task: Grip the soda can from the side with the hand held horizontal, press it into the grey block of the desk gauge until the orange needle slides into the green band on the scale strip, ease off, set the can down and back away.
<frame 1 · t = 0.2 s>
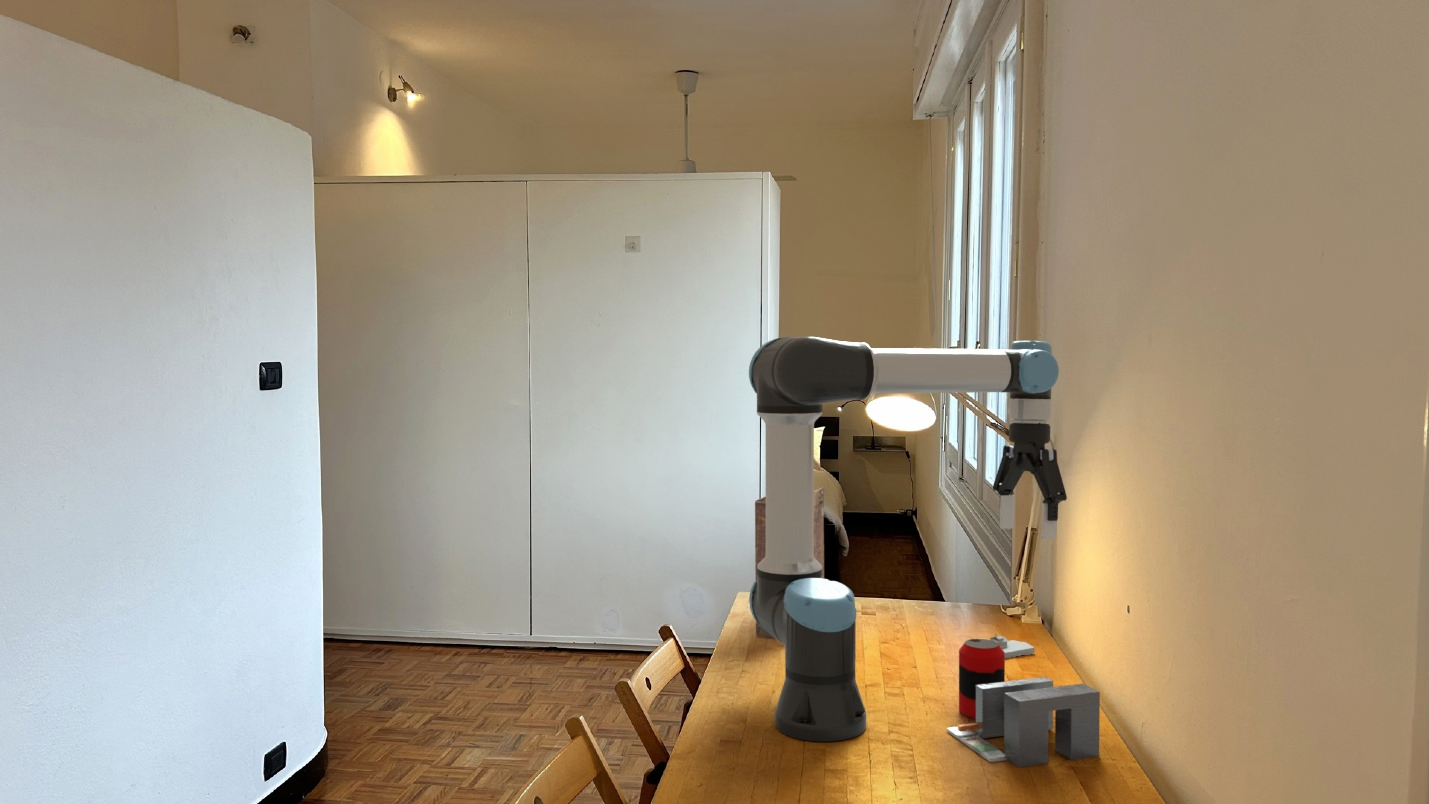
hand: (1027, 533, 193), 27 cm above the table, fingers open, 13 cm apart
book: (791, 625, 231), on the table
soda can: (981, 713, 173), on the table
grey block: (1013, 713, 161), point 4 cm above the table, slide at 0.0 cm
gauge bed: (1032, 744, 159), on the table
grey flat angular piece: (1000, 654, 209), on the table
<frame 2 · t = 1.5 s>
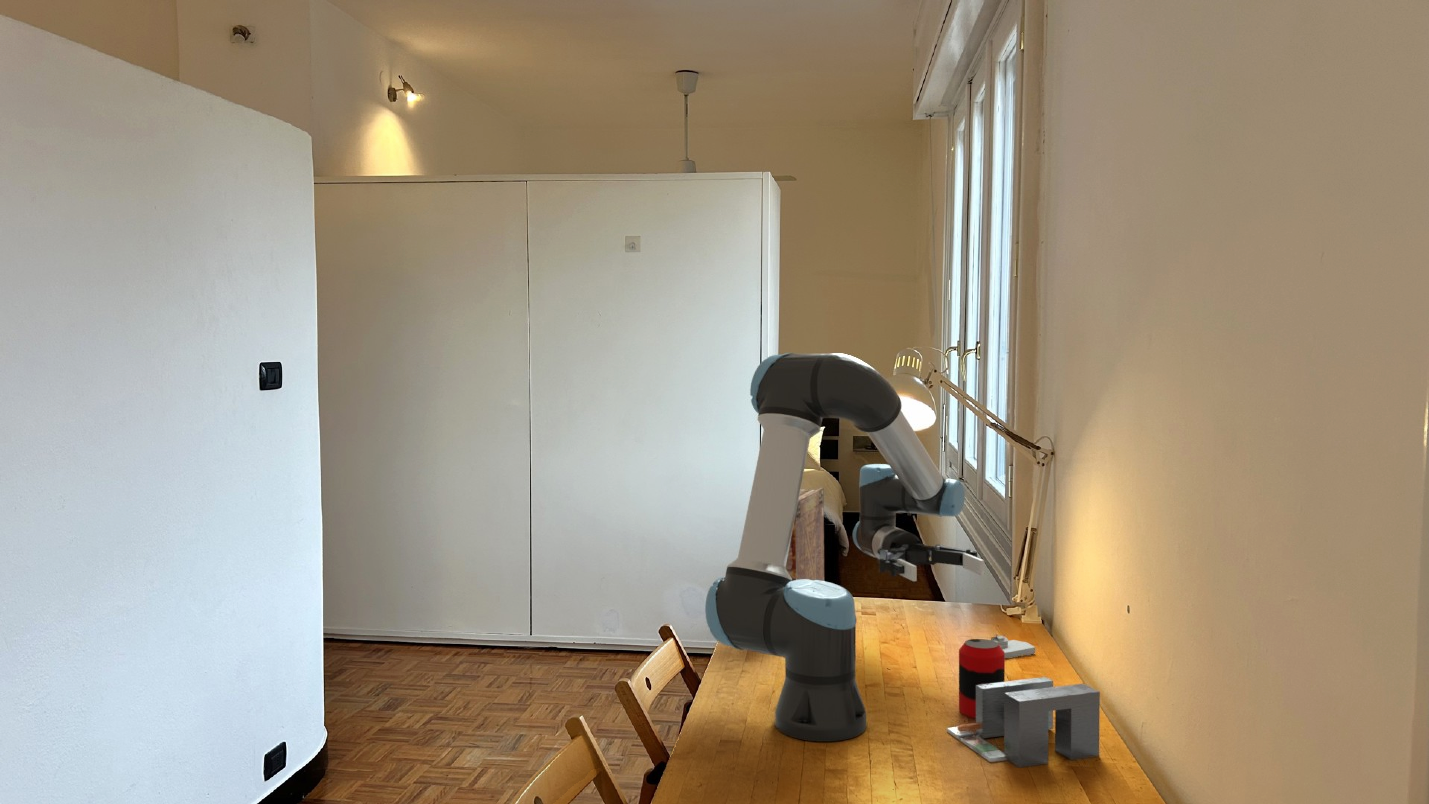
hand: (949, 570, 183), 22 cm above the table, fingers open, 13 cm apart
nothing on the table moved.
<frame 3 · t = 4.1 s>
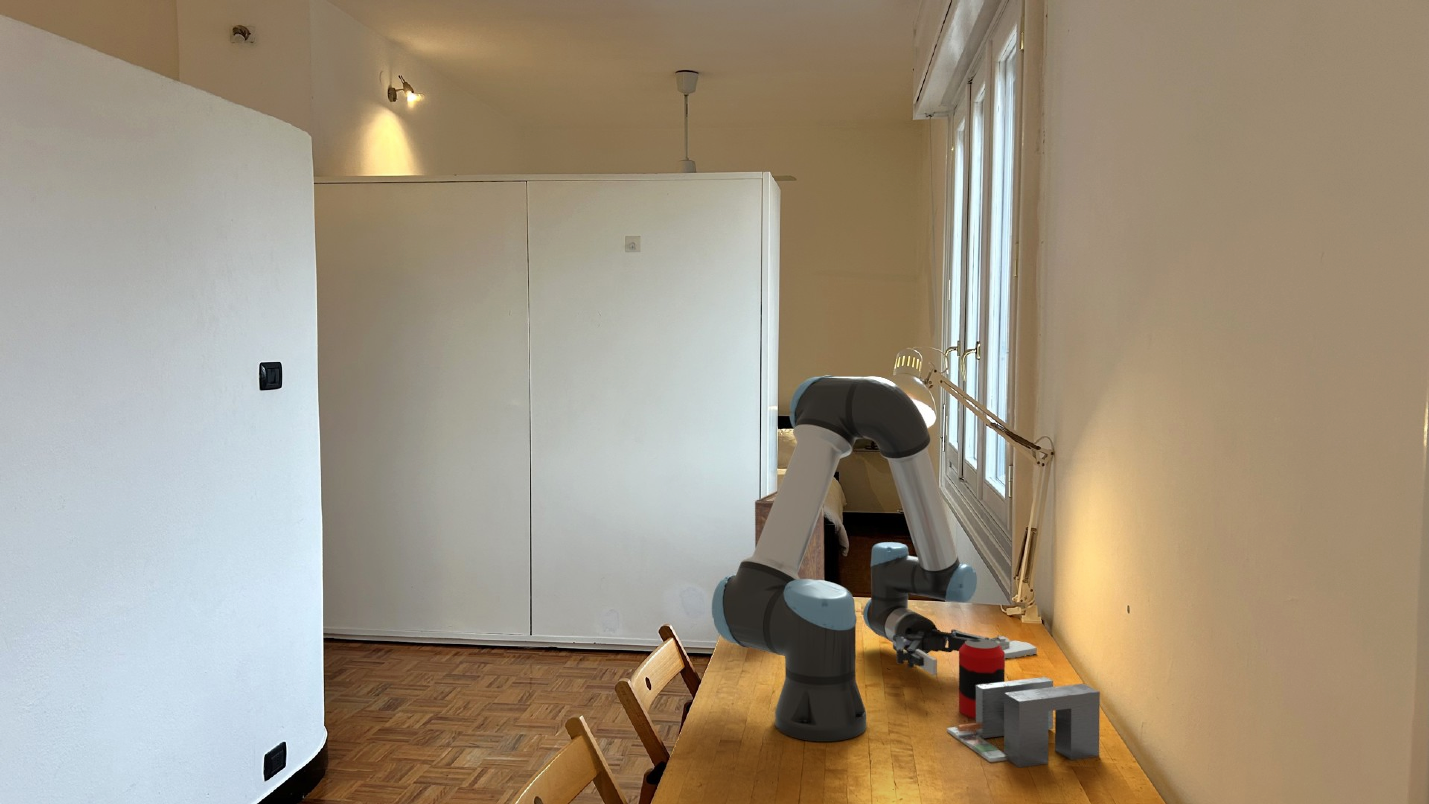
hand: (969, 663, 178), 7 cm above the table, fingers open, 13 cm apart
nothing on the table moved.
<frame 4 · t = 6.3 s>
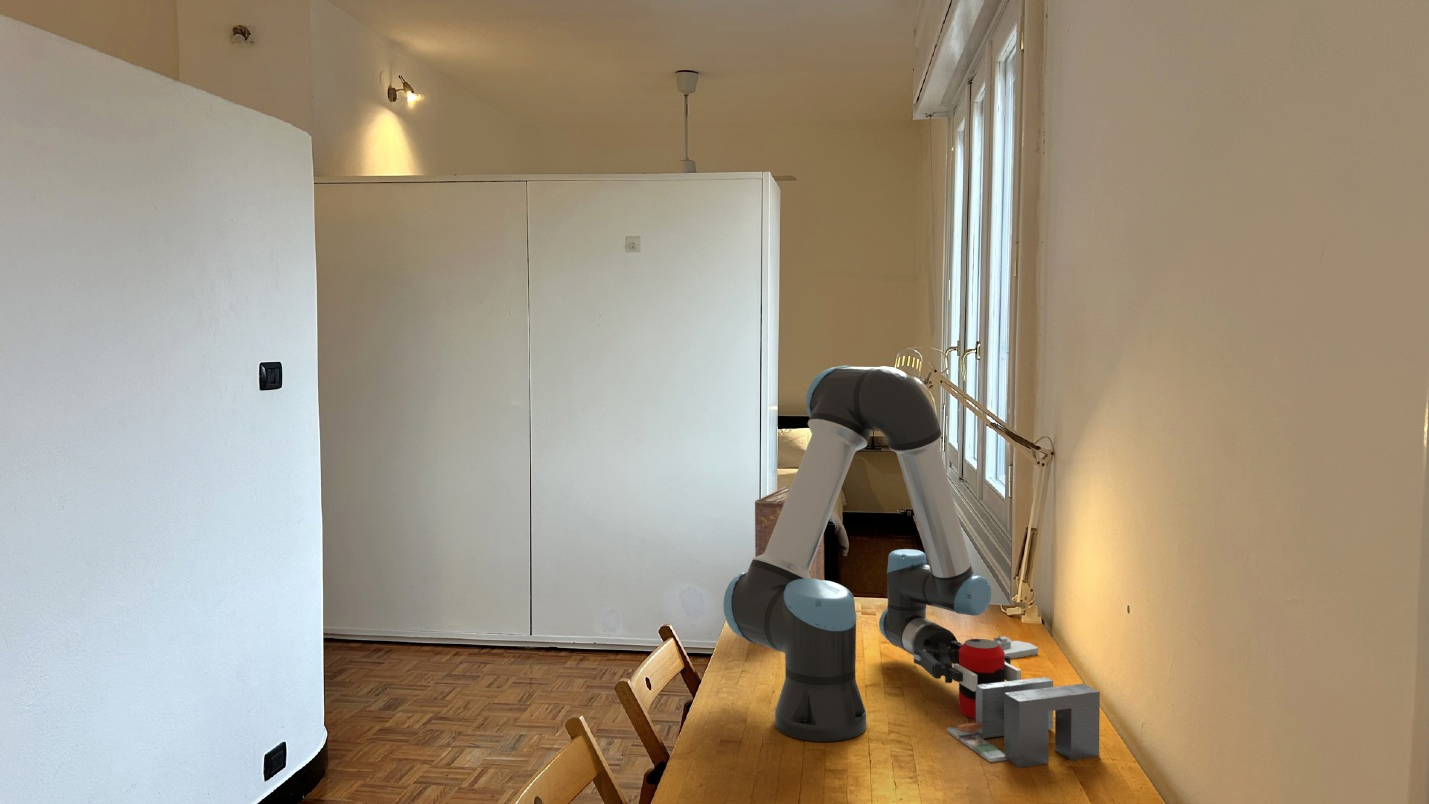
hand: (997, 680, 168), 7 cm above the table, fingers closed on soda can, 7 cm apart
soda can: (981, 713, 173), on the table, touching gripper
everything else where it was.
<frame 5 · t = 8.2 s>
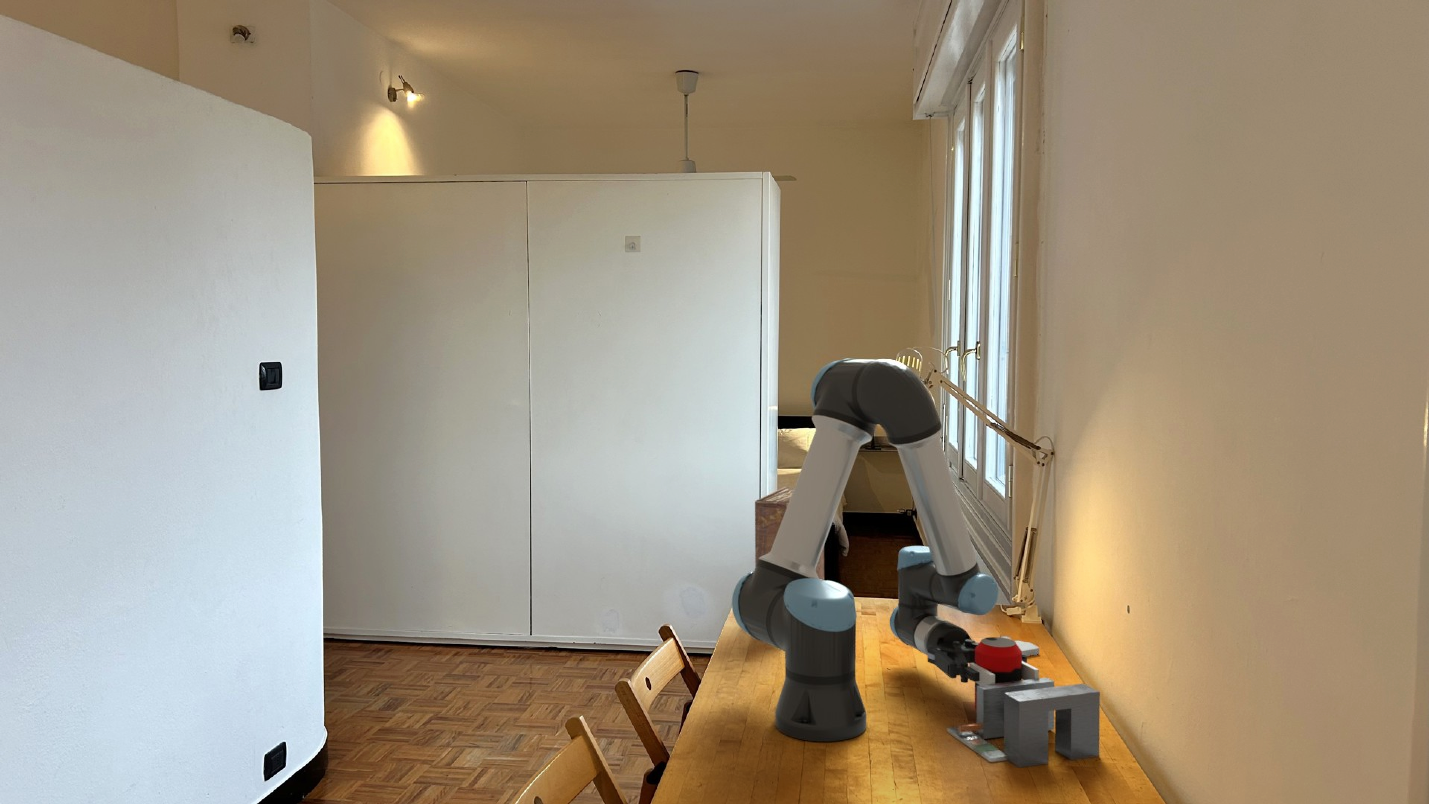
hand: (1014, 680, 165), 8 cm above the table, fingers closed on soda can, 7 cm apart
soda can: (998, 713, 170), point 1 cm above the table, touching gripper
grey block: (1014, 714, 160), point 4 cm above the table, slide at 0.3 cm, touching gripper
everything else where it was.
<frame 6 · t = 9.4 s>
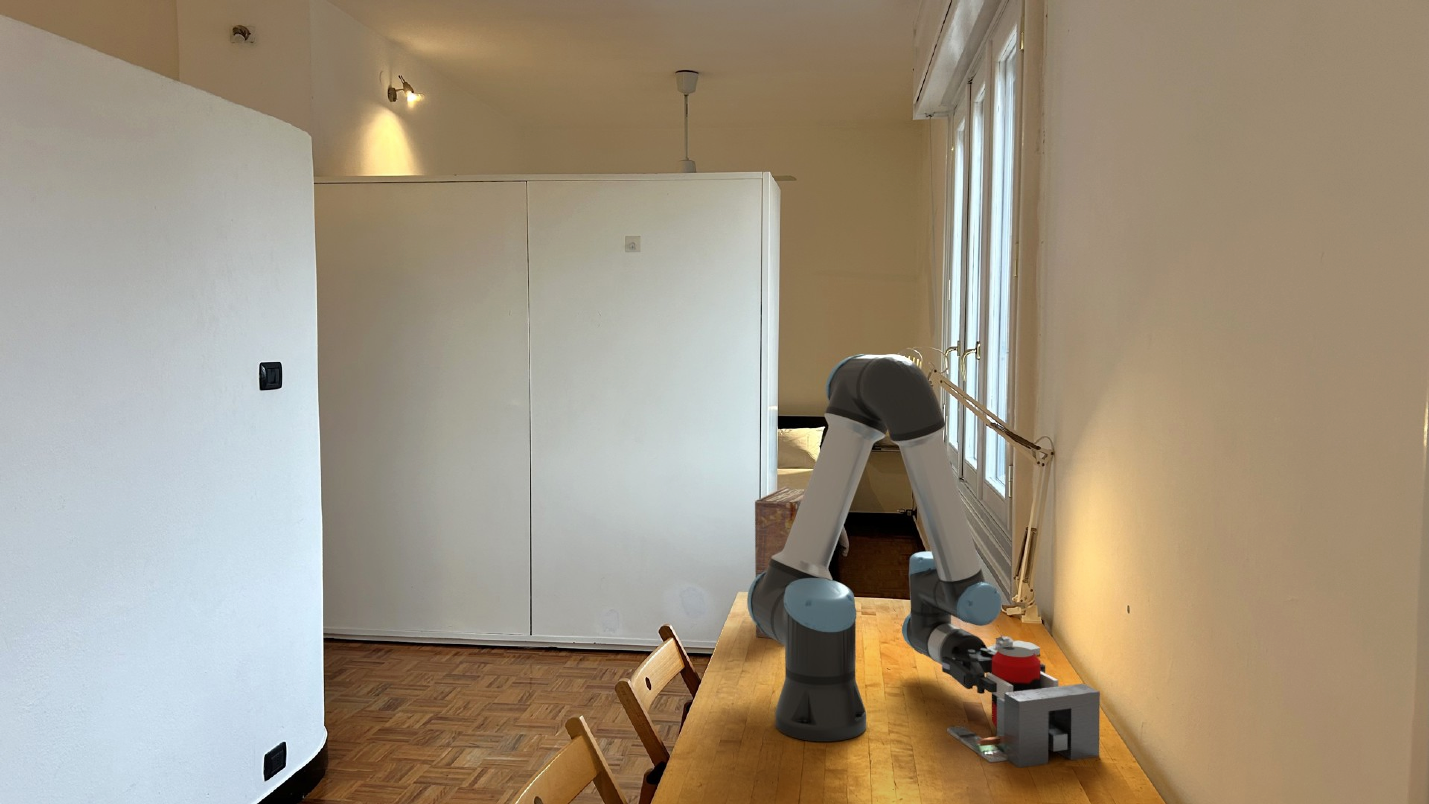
hand: (1033, 691, 159), 8 cm above the table, fingers closed on soda can, 7 cm apart
soda can: (1015, 725, 164), point 1 cm above the table, touching gripper
grey block: (1036, 727, 155), point 4 cm above the table, slide at 6.2 cm, touching gripper
when the fingers open (7 cm above the table, at t = 11.5 s): soda can stays where it is, on the table.
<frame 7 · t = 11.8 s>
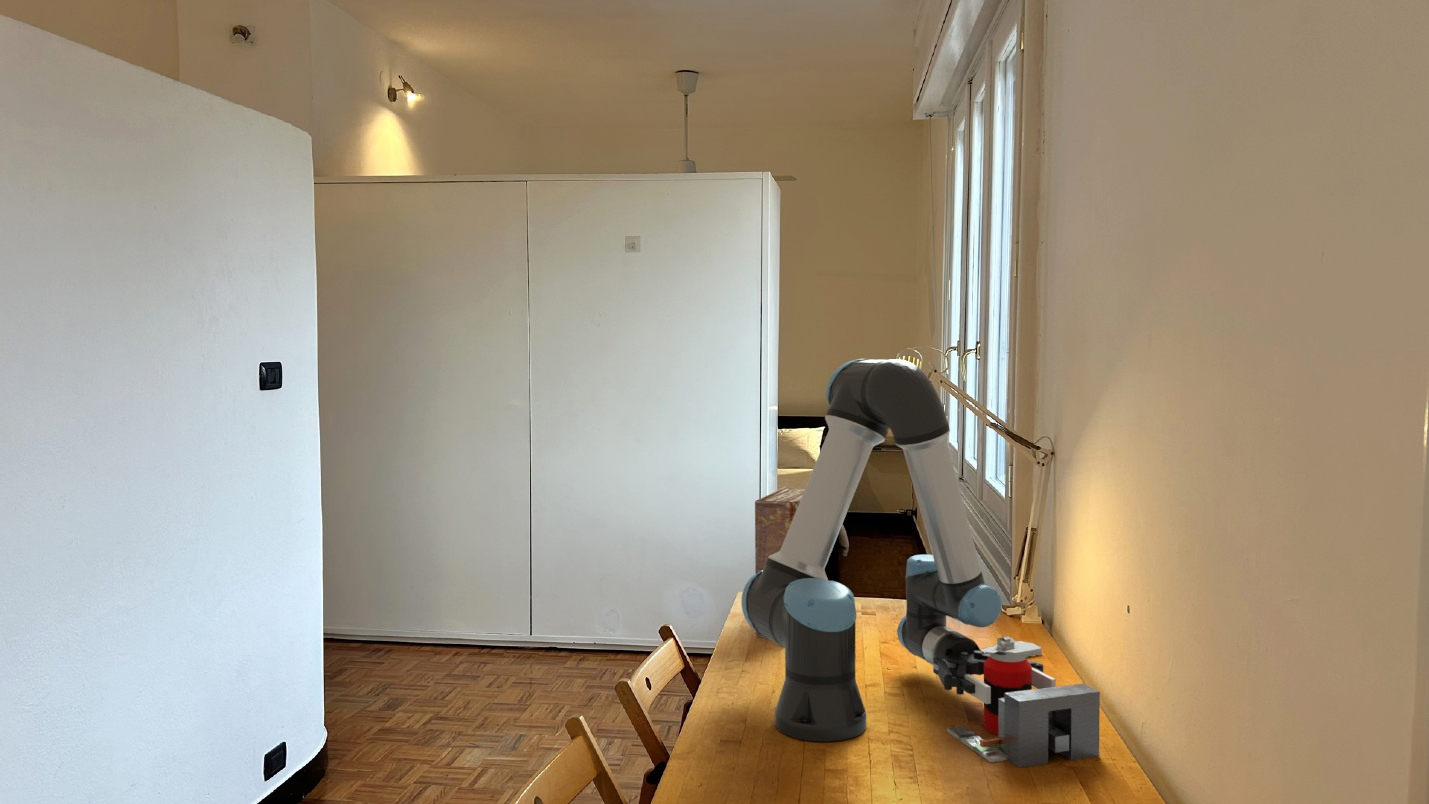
hand: (1021, 691, 162), 7 cm above the table, fingers open, 11 cm apart
soda can: (1007, 730, 166), on the table
grey block: (1038, 728, 154), point 4 cm above the table, slide at 6.6 cm
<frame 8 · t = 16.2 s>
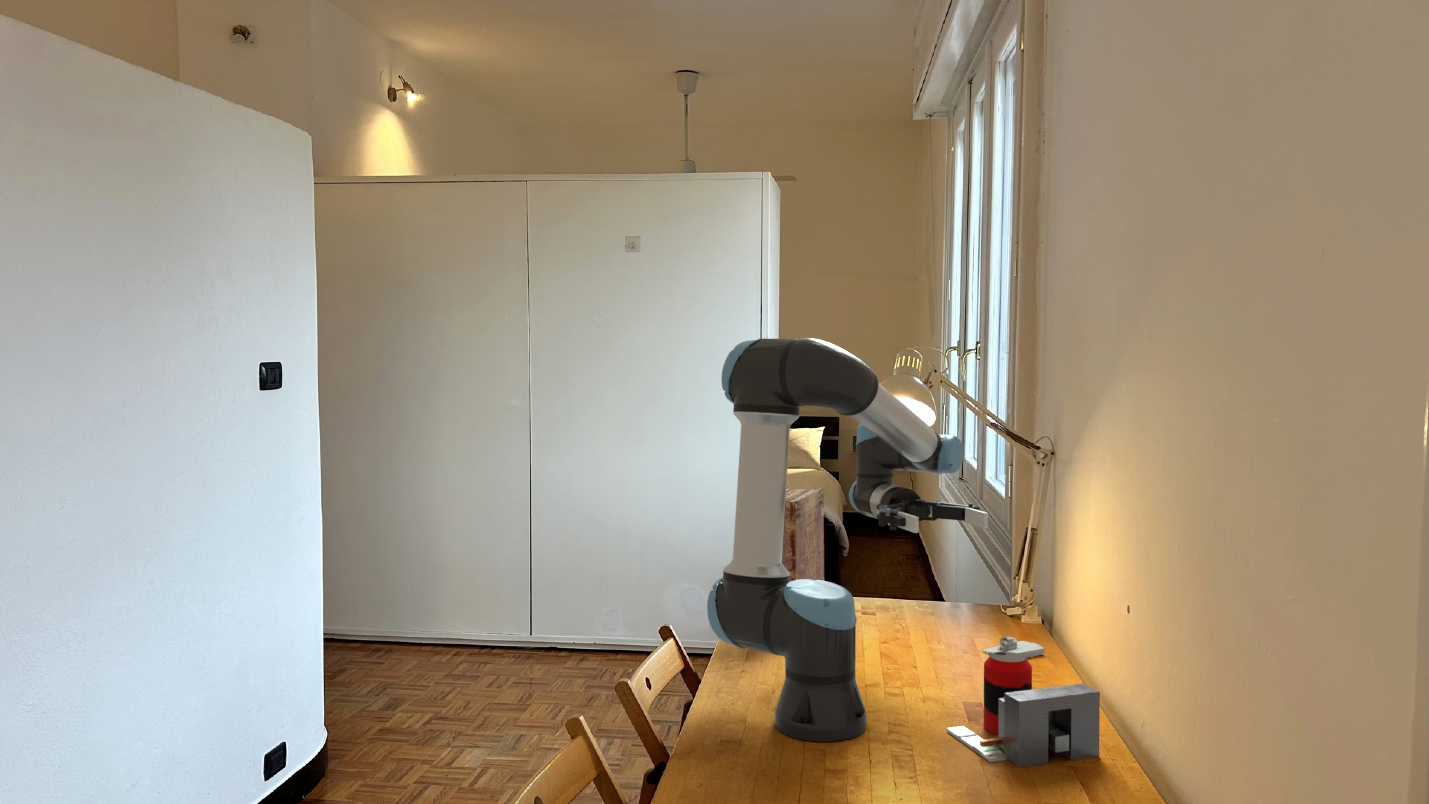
hand: (951, 522, 177), 32 cm above the table, fingers open, 13 cm apart
at the end: grey block slide at 6.6 cm; the gripper is holding nothing; soda can tilted 0° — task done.
